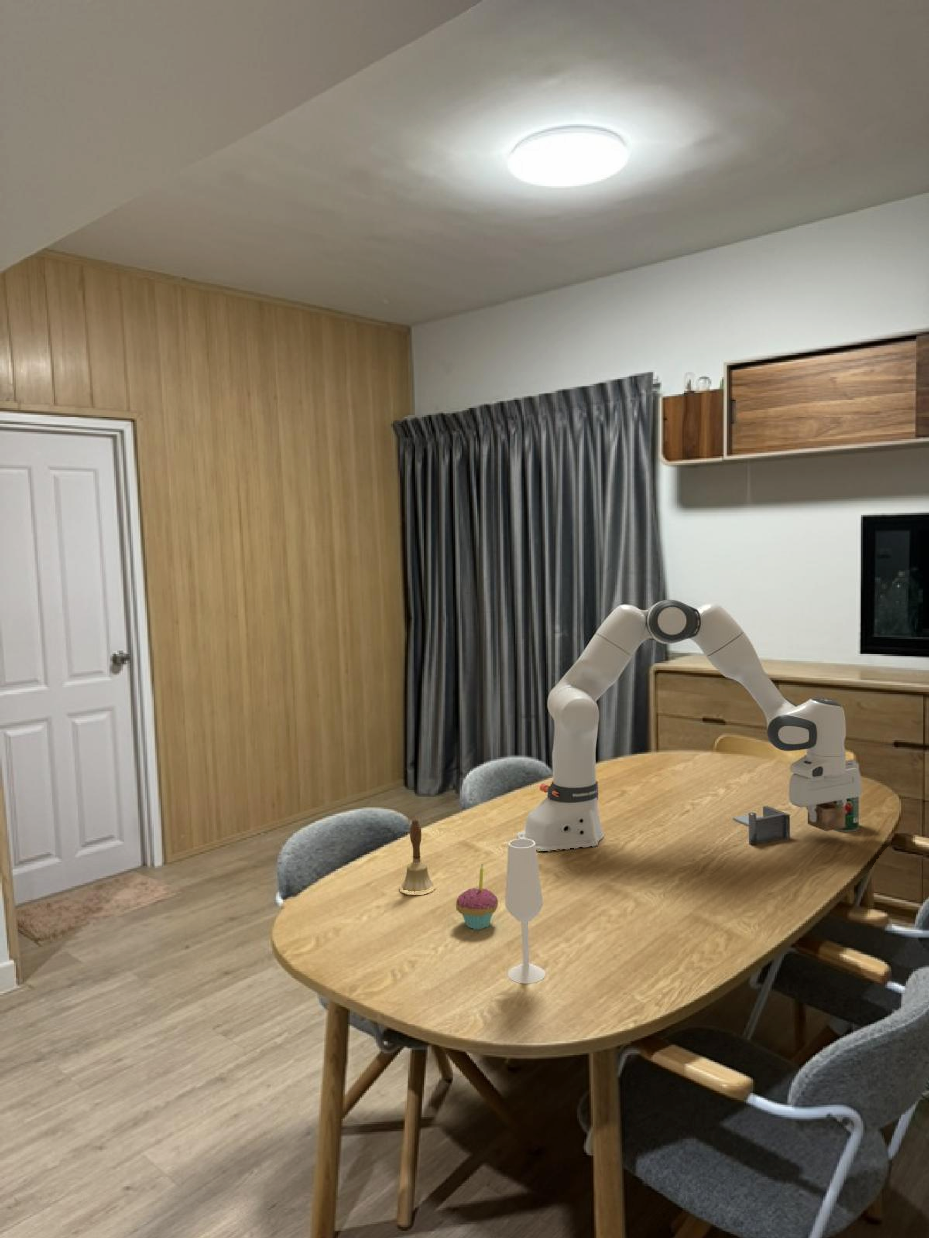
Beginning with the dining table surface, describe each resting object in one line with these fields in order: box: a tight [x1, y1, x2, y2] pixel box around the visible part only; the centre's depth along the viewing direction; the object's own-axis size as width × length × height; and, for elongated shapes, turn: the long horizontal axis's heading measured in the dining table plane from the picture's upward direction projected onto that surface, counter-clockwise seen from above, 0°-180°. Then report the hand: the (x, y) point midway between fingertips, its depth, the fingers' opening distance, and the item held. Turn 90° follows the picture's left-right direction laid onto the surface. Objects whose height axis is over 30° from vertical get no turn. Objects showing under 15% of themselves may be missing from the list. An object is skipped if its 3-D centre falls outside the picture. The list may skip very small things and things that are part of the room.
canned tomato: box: [831, 796, 860, 832], centre depth 220 cm, size 8×8×11 cm
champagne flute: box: [504, 838, 546, 985], centre depth 151 cm, size 7×7×24 cm
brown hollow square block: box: [807, 802, 845, 832], centre depth 210 cm, size 6×6×5 cm
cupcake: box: [455, 863, 499, 930], centre depth 172 cm, size 9×8×12 cm
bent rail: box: [748, 805, 791, 846], centre depth 215 cm, size 12×8×8 cm
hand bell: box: [400, 818, 434, 892], centre depth 191 cm, size 8×8×16 cm
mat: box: [732, 814, 762, 828], centre depth 227 cm, size 7×7×1 cm
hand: (826, 818), depth 210 cm, fingers closed on brown hollow square block, 6 cm apart
